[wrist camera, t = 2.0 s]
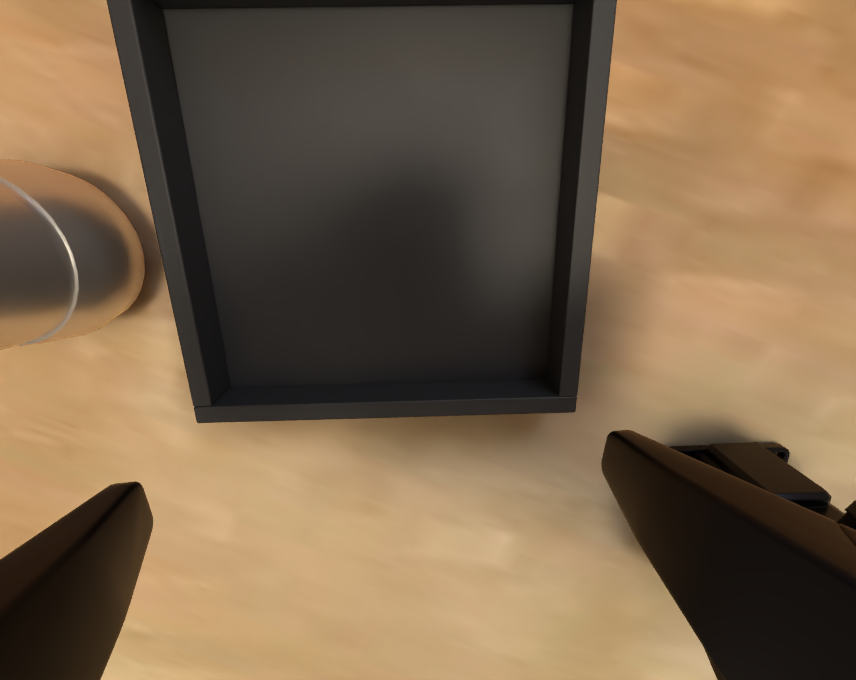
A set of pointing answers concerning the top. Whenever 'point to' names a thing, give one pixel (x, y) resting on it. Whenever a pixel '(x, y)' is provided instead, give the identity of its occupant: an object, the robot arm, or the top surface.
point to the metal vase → (61, 256)
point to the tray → (372, 198)
